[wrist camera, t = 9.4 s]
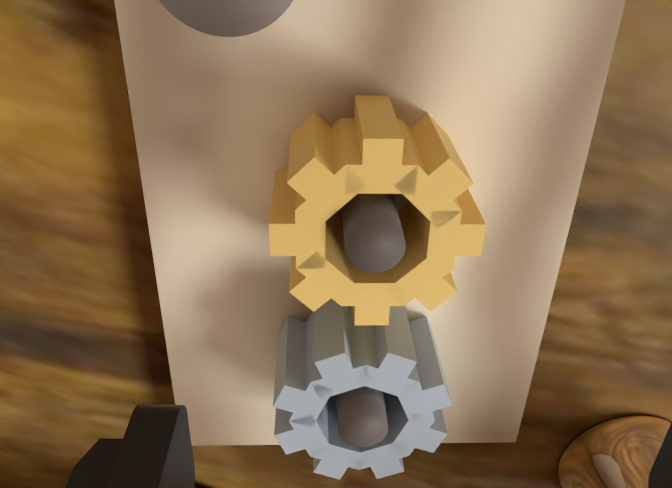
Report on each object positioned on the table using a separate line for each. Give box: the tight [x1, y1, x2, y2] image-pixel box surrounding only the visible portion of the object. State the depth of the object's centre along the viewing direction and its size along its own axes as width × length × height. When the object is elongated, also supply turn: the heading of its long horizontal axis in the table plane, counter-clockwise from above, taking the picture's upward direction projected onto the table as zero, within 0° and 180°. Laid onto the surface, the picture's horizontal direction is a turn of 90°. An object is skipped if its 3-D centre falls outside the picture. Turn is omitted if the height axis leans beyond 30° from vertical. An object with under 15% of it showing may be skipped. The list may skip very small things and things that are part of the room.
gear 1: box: [269, 95, 486, 325], centre depth 18 cm, size 6×6×4 cm
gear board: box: [114, 0, 626, 447], centre depth 19 cm, size 14×22×6 cm, turn 179°
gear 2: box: [273, 298, 452, 479], centre depth 21 cm, size 6×6×4 cm
